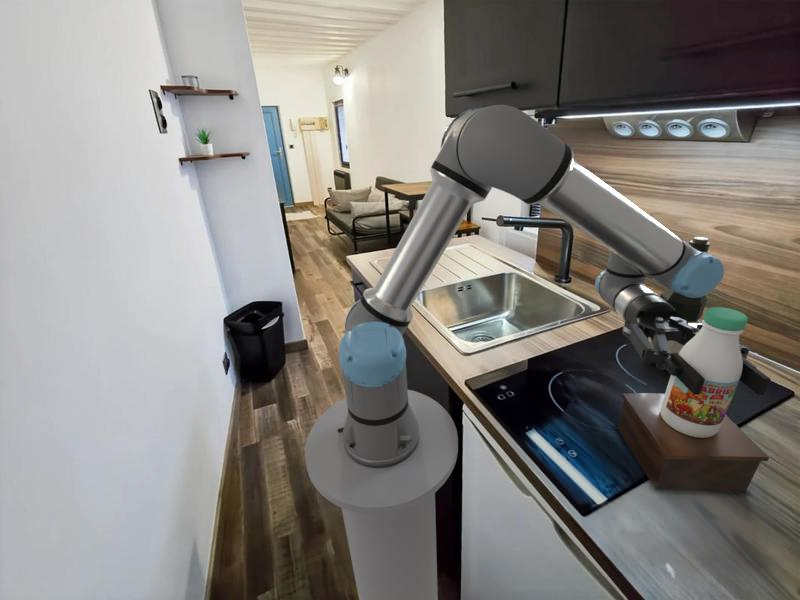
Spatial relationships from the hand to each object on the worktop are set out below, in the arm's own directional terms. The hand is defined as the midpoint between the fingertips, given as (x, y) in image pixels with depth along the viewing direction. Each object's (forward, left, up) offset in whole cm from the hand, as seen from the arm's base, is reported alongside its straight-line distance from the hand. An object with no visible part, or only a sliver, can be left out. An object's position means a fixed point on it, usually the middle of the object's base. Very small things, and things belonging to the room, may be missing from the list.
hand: (731, 386), depth 50 cm
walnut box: (0, +5, -19) cm, 20 cm away
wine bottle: (+14, +34, -19) cm, 41 cm away
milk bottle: (0, +5, -11) cm, 12 cm away
